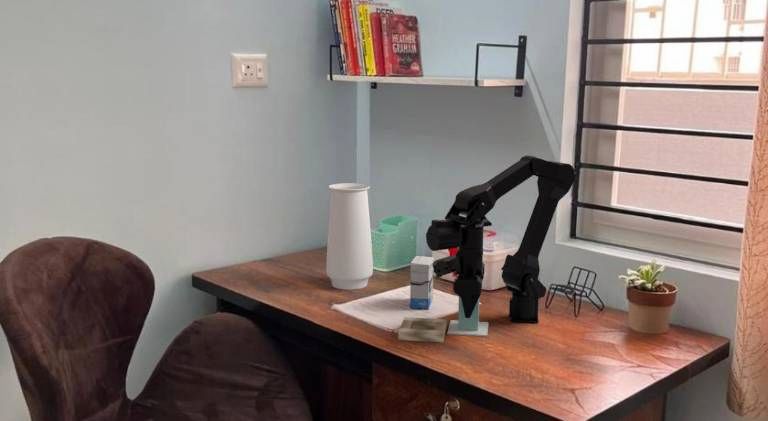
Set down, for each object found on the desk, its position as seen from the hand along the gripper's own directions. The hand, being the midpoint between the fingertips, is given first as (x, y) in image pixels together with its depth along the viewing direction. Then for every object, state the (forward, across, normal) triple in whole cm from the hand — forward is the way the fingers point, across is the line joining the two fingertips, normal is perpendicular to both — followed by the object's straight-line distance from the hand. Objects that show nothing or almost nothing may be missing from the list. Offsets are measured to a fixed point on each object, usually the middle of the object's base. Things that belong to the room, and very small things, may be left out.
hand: (468, 311), depth 175 cm
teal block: (+4, 0, 0) cm, 4 cm away
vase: (+4, -31, -35) cm, 47 cm away
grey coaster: (+4, 0, 0) cm, 4 cm away
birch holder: (+4, +5, -10) cm, 12 cm away
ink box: (+4, -17, -13) cm, 22 cm away
